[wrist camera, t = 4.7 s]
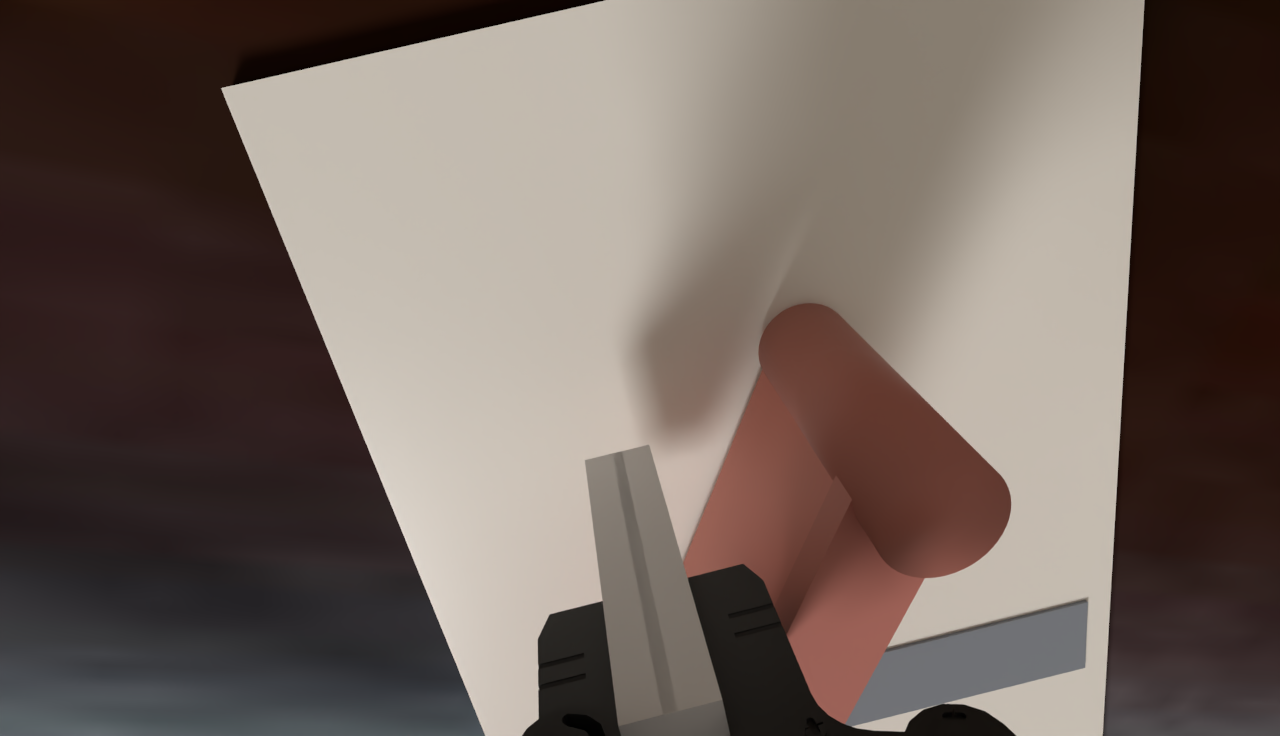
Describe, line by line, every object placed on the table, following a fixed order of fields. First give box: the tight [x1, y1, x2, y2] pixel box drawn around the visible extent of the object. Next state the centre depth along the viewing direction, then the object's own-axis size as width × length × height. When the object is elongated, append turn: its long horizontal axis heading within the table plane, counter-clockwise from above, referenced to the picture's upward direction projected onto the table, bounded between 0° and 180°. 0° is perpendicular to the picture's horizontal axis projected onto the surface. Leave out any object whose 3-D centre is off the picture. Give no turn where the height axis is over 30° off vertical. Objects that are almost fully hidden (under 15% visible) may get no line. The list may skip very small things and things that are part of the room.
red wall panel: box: [683, 303, 1011, 724], centre depth 16 cm, size 11×2×6 cm, turn 162°
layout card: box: [221, 0, 1145, 736], centre depth 21 cm, size 17×32×1 cm, turn 12°
